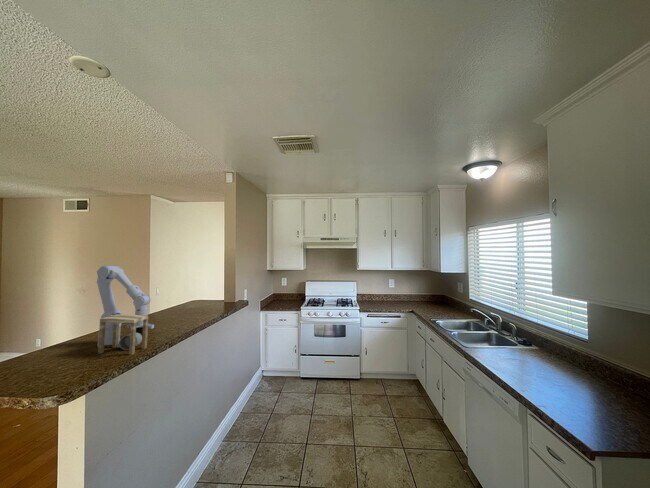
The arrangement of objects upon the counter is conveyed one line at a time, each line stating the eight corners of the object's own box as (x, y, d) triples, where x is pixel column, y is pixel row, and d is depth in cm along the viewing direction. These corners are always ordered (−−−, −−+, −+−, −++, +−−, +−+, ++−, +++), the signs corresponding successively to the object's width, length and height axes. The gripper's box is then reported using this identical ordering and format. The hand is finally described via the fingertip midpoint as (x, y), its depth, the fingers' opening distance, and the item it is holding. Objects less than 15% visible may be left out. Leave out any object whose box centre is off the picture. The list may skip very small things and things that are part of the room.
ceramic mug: (143, 344, 143) (143, 330, 143) (133, 350, 134) (134, 335, 135) (123, 345, 142) (124, 331, 142) (112, 350, 134) (113, 335, 134)
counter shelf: (132, 354, 128) (134, 319, 129) (97, 353, 129) (100, 318, 130) (146, 347, 138) (148, 315, 139) (114, 346, 139) (116, 314, 140)
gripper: (123, 318, 142) (121, 342, 141) (148, 318, 141) (146, 343, 141) (133, 315, 149) (131, 338, 148) (157, 315, 148) (155, 339, 148)
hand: (139, 340), depth 145 cm, fingers closed
